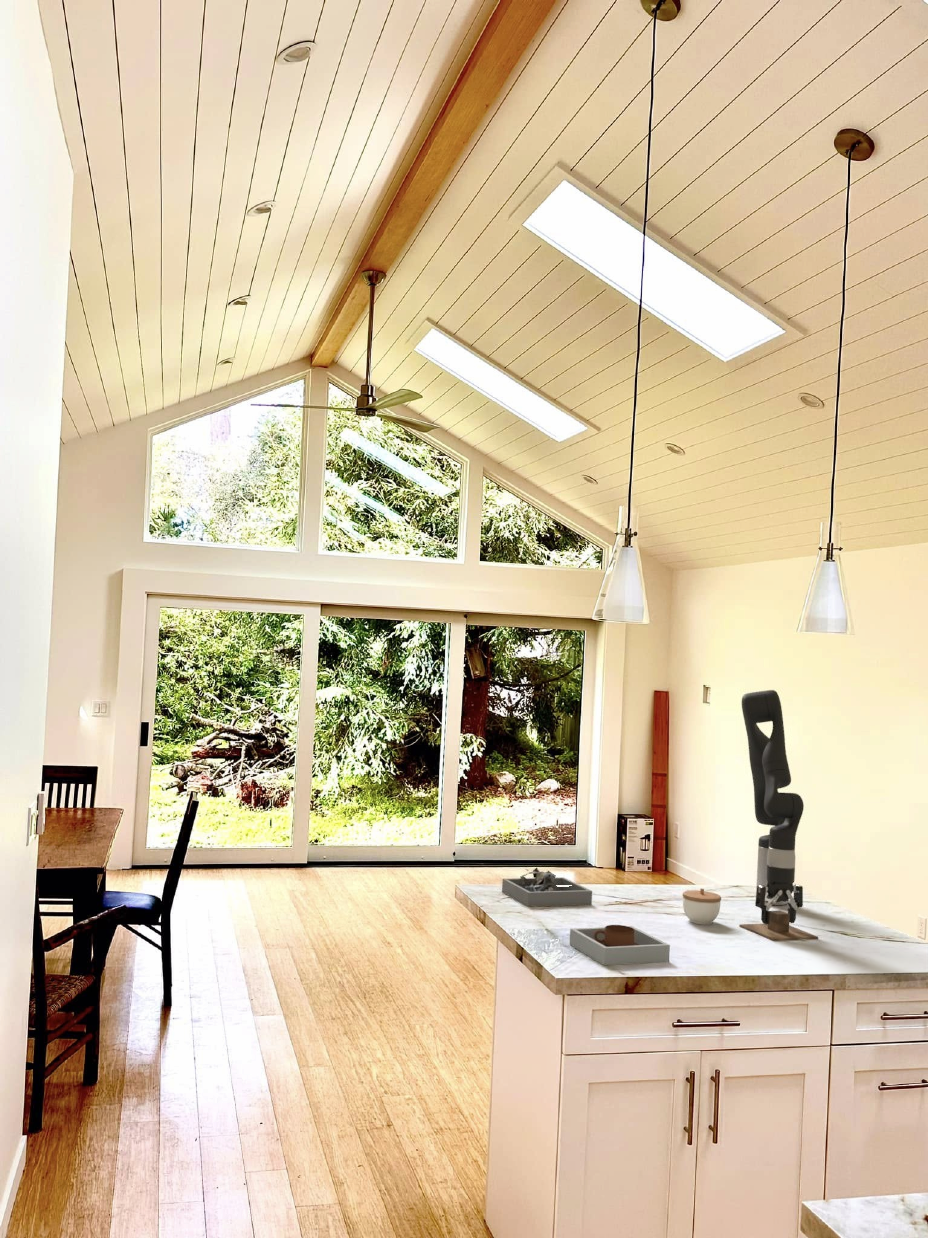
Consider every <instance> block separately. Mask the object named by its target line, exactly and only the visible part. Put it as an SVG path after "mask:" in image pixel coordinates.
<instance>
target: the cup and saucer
mask: <svg viewBox="0 0 928 1238" xmlns="http://www.w3.org/2000/svg"><path fill="white" fill-rule="evenodd" d="M628 926H629V925H621V924H609V925H606V926H604V927H605V931H603V930H598V931H596V932H595V934H594V938H595V940H596V941H597V942H599V943H600V944H602V945H604V946H606V947H615V946H636V945H639V944H637V943H634V934H635V930H634V929H633V928H631V927H628ZM598 933H603V934H604V935H605V939H603V940H599V939H598V938H597V934H598Z"/></svg>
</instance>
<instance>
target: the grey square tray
mask: <svg viewBox="0 0 928 1238" xmlns="http://www.w3.org/2000/svg"><path fill="white" fill-rule="evenodd" d="M627 926H628V927H631V928H633V929H634V930H635V934H634V943H637V944H639V945H636V946H615V947H606V946H604V945H602V944H600V943H599V942H597V941H596V940H595V938H594V934H595V932H596V931H598V930H603V931H605V927H606V926H604V927H603V926H601V927H600V926H599V927H598V926H597V927H579V928H577V927H575V928H570V931H569V945H570V946H571V947H572V948H574V949H576V950H578V951H580V952H581V953H583V954H585V955H586V956H588V957H590V958H591V959H592V960H594V961H597V962H598V963H599V964H601V965H603V966H612V965H613V966H615V965H632V964H648V963H649V964H651V963H664V962H665V963H666V962H667V963H668V962H670V950H671V948H670V947H671V944H670V943H667V942H665V941H663V940H661V939H659V938H657V937H654V935H651V934H649V933H647V932H645V931H643V930H641V929H639V928H637V927H635V926H633V925H627ZM597 938H598V939H599V940H603V939H605V935H604V934H603V933H598V934H597Z"/></svg>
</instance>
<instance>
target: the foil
mask: <svg viewBox="0 0 928 1238" xmlns="http://www.w3.org/2000/svg"><path fill="white" fill-rule="evenodd" d="M525 870H526V871H527V873H525V874H523V875H521V876H520V880H521V881H520V883H519V886H520V887H522V888H524V889H526V890H528V891H530V892H542V891H555V887H556V886H555V885H548V886H546V883H554V879H555V878H557V875H555V874H554V873H552V872H551V871H549V870H547V871H540V870H538V867H535V868H534V869H533V870H532V871H531V872H528V871H529V869H525ZM529 874H531V875H532V876H533V878H535V880H534V882H533V883H531V882H530V881H528V880H527V879H526V878H527V877H526V876H527V875H529ZM537 888H538V889H537Z"/></svg>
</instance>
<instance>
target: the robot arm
mask: <svg viewBox="0 0 928 1238" xmlns="http://www.w3.org/2000/svg"><path fill="white" fill-rule="evenodd" d="M781 702H782V701H781V699H780V697H779V694H778V692H777V691H776V690H774V689H768V690H760V691H753V692H748V693H744V694H743V695H742V697H741V710H742V717H743V720H744V726H745V731H746V737H747V744H748V745H747V746H748V755H749V764H750V765H749V767H750V770H751V775H752V781H753V782H752V784H753V792H754V793H753V795H754V796H753V797H754V798H753V799H754V814H755V819H756V821H757V822H758V824H761V825H765V826H772V827H770V829H769V834H766V835H762V836H760V837H759V838H758V842H757V843H758V844H757V845H758V847H757V848H758V850H757V867H756V868H757V869H756V888H755V889H756V892H755V905H754V906H755V907H756V908H759V909H761V912H760V913H761V916H760V917H761V918H760V919H761V921H762V922H761V923H762V924H769V919H770V911H771V910H770V909H771V908H772V906H785V905H787V906H788V908H787V913H788V914H790V918H789V924H794V923H795V922H796V919H797V910H798V909H799V908H802V907H803V906H804V887H803V886H802V885H800V884H797V883H795V877H796V876H795V875H796V835H797V832H798V829H799V825H800V822H801V819H802V817H803V814H804V813H803V812H804V810H805V809H804V808H805V807H804V801H803V798H802V796H801V795H800V794H798V793H795V792H779V789H784V788H786V787H788V786H790V785H791V783H792V776H791V772H790V768H789V762H788V757H787V750H786V737H785V726H784V718H783V710H782V703H781ZM769 722H772V730H771V734H770V736H769V737H768V735H766V734H765V733H764V732H763V731H762V730H761V728H760V727H759V726H758V724H762V723H769ZM792 893H793V895H792Z"/></svg>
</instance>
